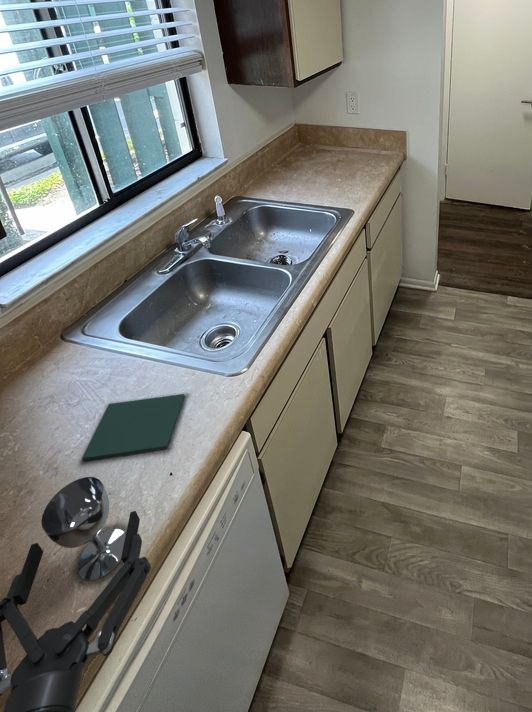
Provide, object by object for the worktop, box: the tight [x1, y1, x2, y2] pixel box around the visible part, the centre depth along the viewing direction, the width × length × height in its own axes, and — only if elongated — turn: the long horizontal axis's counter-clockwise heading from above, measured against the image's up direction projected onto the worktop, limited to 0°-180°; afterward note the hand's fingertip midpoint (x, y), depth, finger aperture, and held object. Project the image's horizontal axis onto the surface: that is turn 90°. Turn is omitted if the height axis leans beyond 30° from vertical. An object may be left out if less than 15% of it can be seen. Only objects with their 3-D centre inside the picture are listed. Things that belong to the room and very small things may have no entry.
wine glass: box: [40, 476, 126, 582], centre depth 70 cm, size 8×8×15 cm
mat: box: [81, 393, 186, 462], centre depth 94 cm, size 16×12×1 cm
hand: (87, 531), depth 70 cm, fingers open, 13 cm apart
